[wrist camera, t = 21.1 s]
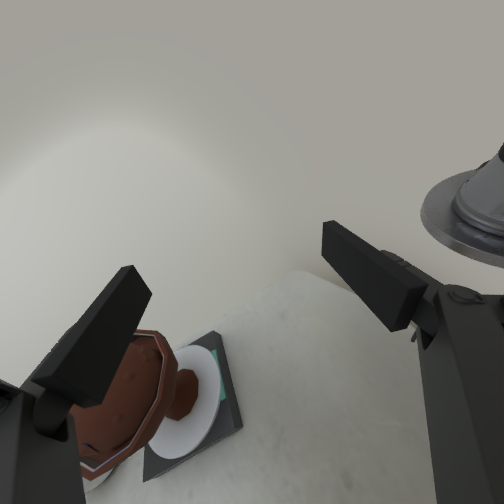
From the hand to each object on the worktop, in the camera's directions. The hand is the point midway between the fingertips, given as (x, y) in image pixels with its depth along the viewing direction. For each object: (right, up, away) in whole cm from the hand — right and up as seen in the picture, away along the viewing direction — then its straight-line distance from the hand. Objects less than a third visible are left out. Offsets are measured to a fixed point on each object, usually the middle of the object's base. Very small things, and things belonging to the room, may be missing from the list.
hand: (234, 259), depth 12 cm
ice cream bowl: (-8, -18, +11) cm, 23 cm away
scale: (-7, -20, +13) cm, 25 cm away
